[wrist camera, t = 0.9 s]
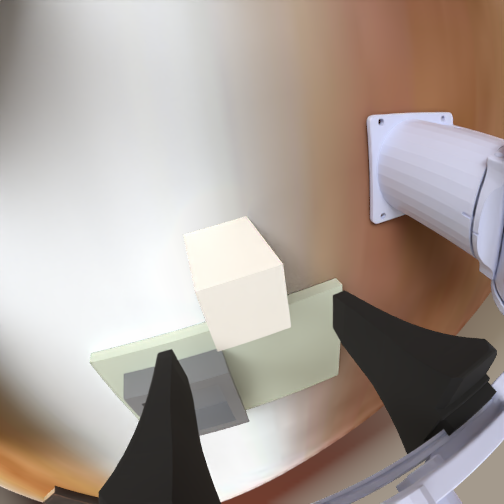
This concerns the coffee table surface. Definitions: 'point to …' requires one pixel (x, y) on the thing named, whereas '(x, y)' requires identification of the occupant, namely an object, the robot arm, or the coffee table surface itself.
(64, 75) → the coffee table surface
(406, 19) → the coffee table surface
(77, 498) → the hardcover book
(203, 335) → the plate
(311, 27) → the coffee table surface
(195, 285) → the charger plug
